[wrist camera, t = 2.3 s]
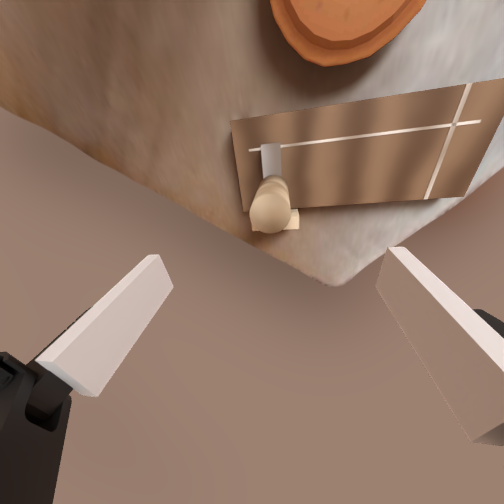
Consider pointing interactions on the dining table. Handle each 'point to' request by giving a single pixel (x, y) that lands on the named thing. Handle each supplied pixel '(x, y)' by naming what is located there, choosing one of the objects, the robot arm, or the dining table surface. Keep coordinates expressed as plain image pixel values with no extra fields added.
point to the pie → (341, 26)
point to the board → (375, 146)
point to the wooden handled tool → (272, 196)
